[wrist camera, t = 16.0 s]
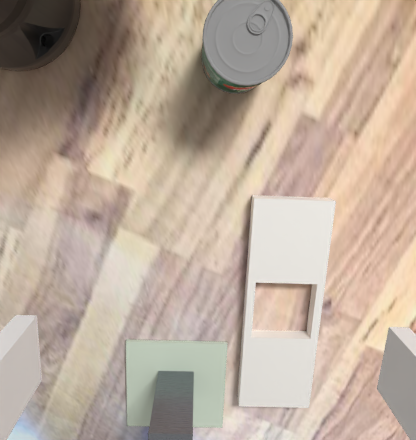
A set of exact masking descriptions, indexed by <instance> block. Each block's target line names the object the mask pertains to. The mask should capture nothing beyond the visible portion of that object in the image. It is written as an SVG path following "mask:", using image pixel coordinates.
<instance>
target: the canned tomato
mask: <svg viewBox="0 0 416 440" xmlns="http://www.w3.org/2000/svg"><path fill="white" fill-rule="evenodd" d="M292 39H293V33H292V24H291V20H290V17H289V15H288V13H287V11H286V9H285V7H284V6H283V4H282V3H281V2H280V1H279V0H218V1H217V2H216V3H215V4H214V6H213V7H212V9H211V10H210V11H209V14H208V16H207V18H206V20H205V24H204V29H203V46H202V66H203V69H204V72H205V74H206V76H207V78H208V79H209V81H210V82H211V83H212V84H213V85H214V86H215V87H217V88H218V89H220V90H222V91H224V92H228V93H235V94H237V93H244V92H246V91H249V90H251V89H253V88H254V87H256V86H257V85H259V84H261V83H262V82H265V81H267V80H268V79H270V78H272V77H273V76H274V75H275V74H276V73H277V72H278V71H279V70H280V69H281V68H282V66H283V65H284V64H285V62H286V60H287V58H288V56H289V53H290V50H291V46H292Z"/></svg>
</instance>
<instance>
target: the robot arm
mask: <svg viewBox="0 0 416 440" xmlns="http://www.w3.org/2000/svg"><path fill="white" fill-rule="evenodd" d="M79 14H80V0H0V68H2V69H7V70H14V71H24V70H31V69H36V68H39V67H41V66H44V65H46V64H48V63H50V62H51V61H53V60H54V59H55V58H57V57H58V56H59V55H60V54H61V53H62V52H63V51H64V50H65V48H66V47H67V46H68V44H69V43H70V41H71V39H72V37H73V35H74V33H75V30H76V28H77V24H78V20H79ZM41 381H42V376H41V363H40V350H39V336H38V323H37V316H30V315H15V316H14V317H13V318H12V320H11V321H10V322H9V323H8V324H7V325H6V326H5V327H4V328H3V329H2V330H1V332H0V440H7V438H8V436H9V435H10V433H11V431H12V430H13V428H14V426H15V425H16V423H17V421H18V419H19V418H20V416H21V414H22V413H23V411H24V409H25V408H26V406H27V404H28V403H29V401H30V399H31V397H32V396H33V394H34V392H35V391H36V389H37V387H38V386H39V384H40V382H41ZM377 390H378V391H379V393H380V394H381V396H382V397H383V399H384V400H385V402H386V403H387V405H388V406H389V408H390V409H391V411H392V413H393V414H394V416H395V417H396V419H397V420H398V422H399V423H400V425H401V426H402V428H403V429H404V431H405V432H406V434H407V435H408V437H409V438H410V440H416V334H415V333H414V332H413V331H412V330H411V329H410V328H404V327H389V330H388V335H387V340H386V345H385V350H384V355H383V360H382V365H381V370H380V375H379V380H378V385H377Z"/></svg>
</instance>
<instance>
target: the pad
mask: <svg viewBox="0 0 416 440" xmlns="http://www.w3.org/2000/svg"><path fill="white" fill-rule="evenodd" d="M226 359H227V342H214V341H171V340H129V339H127V340H126V384H127V426H150V420H151V413H152V407H153V401H154V395H155V389H156V382H157V376H158V371H193V372H194V390H193V427H217V428H222V424H223V408H224V392H225V376H226Z"/></svg>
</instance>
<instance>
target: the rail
mask: <svg viewBox="0 0 416 440" xmlns="http://www.w3.org/2000/svg"><path fill="white" fill-rule="evenodd" d="M335 204H336V201H335V200H333V199H331V198H318V197H291V196H263V195H252V202H251V216H250V229H249V243H248V257H247V271H246V285H245V299H244V312H243V326H242V340H241V354H240V368H239V381H238V395H237V397H238V404H239V406H243V407H299V408H309V403H310V395H311V388H312V380H313V372H314V365H315V357H316V349H317V342H318V334H319V326H320V319H321V311H322V304H323V296H324V288H325V281H326V273H327V265H328V258H329V250H330V242H331V235H332V227H333V219H334V212H335ZM256 283H291V284H312V289H311V297H310V306H309V314H308V322H307V330H306V331H285V330H252V323H253V311H254V298H255V286H256Z"/></svg>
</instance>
